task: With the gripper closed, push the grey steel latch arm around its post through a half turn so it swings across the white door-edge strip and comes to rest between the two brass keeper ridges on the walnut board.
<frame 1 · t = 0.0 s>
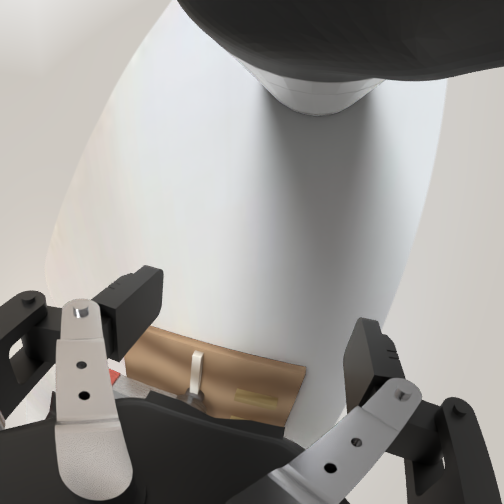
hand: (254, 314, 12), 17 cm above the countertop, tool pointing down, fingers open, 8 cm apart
latch arm: (149, 404, 34), point 5 cm above the countertop, hinge at 0.0°
door board: (205, 394, 38), on the countertop
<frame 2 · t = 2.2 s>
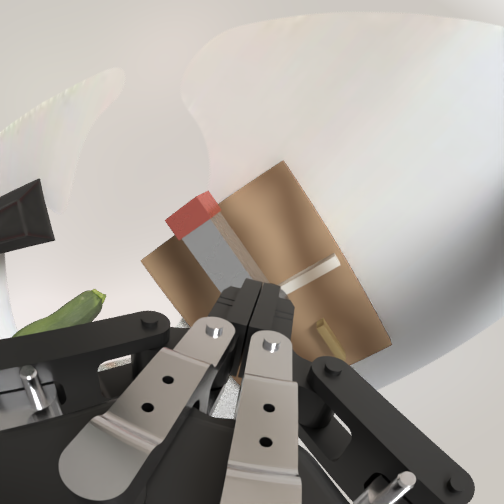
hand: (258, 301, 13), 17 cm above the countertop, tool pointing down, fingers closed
vegetable: (98, 293, 37), on the countertop
barrier: (5, 223, 38), on the countertop
latch arm: (233, 272, 27), point 5 cm above the countertop, hinge at 0.0°
door board: (268, 300, 33), on the countertop
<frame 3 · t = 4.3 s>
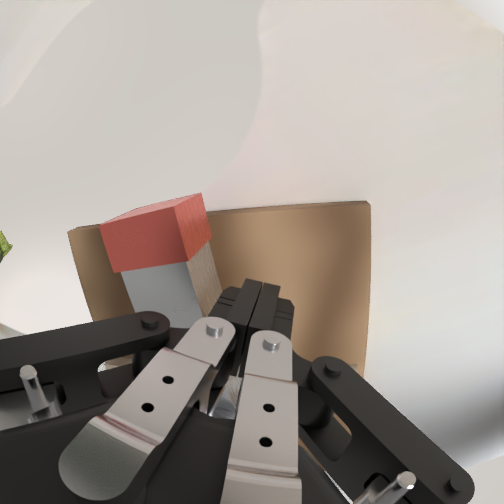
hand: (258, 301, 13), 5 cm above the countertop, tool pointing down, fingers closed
vegetable: (4, 238, 21), on the countertop
latch arm: (194, 352, 14), point 5 cm above the countertop, hinge at 5.9°, touching gripper
door board: (227, 371, 21), on the countertop
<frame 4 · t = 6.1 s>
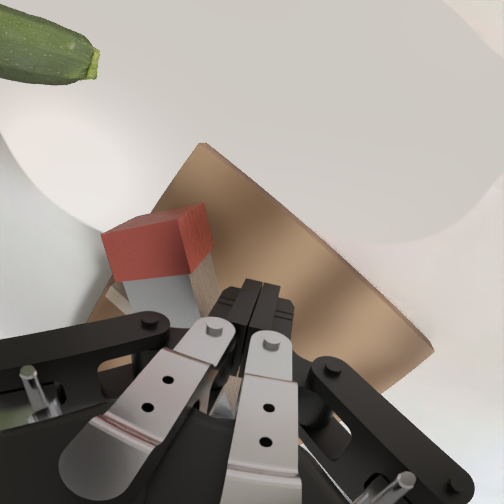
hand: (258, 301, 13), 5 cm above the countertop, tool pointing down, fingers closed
vegetable: (92, 58, 15), on the countertop
latch arm: (194, 360, 14), point 5 cm above the countertop, hinge at 50.2°, touching gripper
door board: (217, 365, 21), on the countertop
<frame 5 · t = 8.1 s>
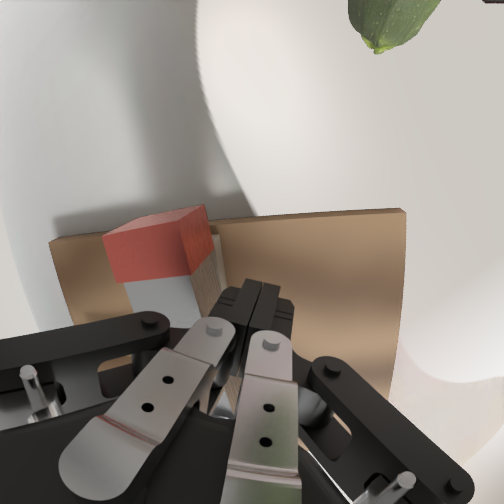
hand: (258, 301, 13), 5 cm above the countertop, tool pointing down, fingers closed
vegetable: (377, 27, 13), on the countertop
latch arm: (195, 361, 14), point 5 cm above the countertop, hinge at 94.6°, touching gripper
door board: (222, 355, 20), on the countertop
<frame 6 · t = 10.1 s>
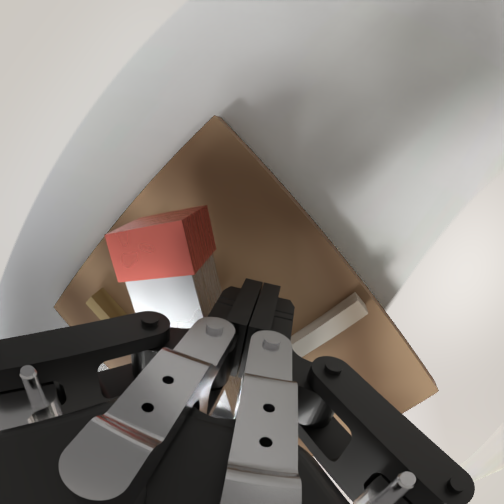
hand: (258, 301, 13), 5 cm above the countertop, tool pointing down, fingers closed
latch arm: (195, 361, 14), point 5 cm above the countertop, hinge at 148.2°, touching gripper
door board: (238, 351, 20), on the countertop
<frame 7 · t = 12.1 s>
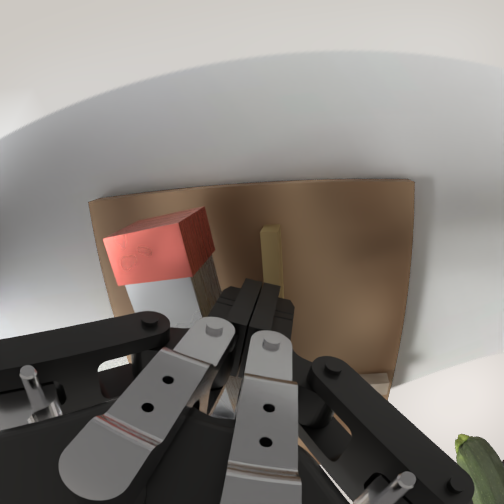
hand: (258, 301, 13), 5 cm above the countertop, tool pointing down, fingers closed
vegetable: (467, 434, 20), on the countertop
latch arm: (197, 362, 14), point 5 cm above the countertop, hinge at 187.1°
door board: (254, 357, 20), on the countertop
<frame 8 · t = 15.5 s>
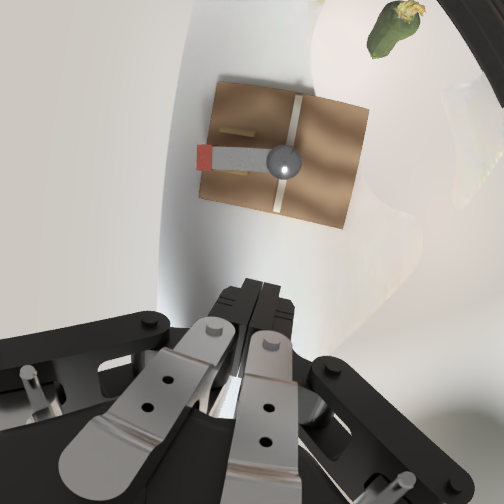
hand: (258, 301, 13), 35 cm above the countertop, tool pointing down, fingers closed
vegetable: (377, 50, 37), on the countertop
barrier: (482, 38, 32), on the countertop
latch arm: (249, 159, 41), point 5 cm above the countertop, hinge at 187.1°
door board: (282, 152, 45), on the countertop
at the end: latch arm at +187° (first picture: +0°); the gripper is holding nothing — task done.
